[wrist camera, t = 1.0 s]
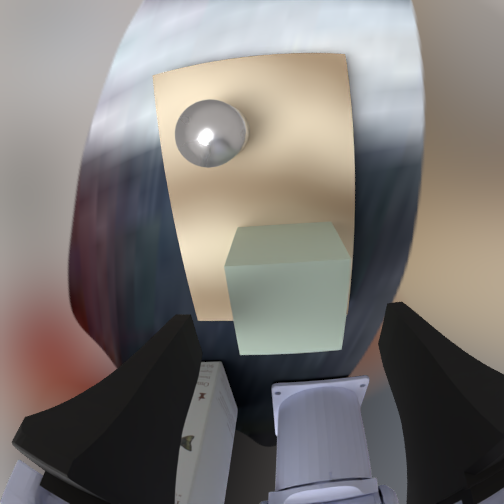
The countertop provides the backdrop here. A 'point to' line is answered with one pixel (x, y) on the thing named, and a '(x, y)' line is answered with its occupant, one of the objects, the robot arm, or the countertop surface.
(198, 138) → the silver knob
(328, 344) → the pale green block
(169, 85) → the board
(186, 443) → the supplement box
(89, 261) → the countertop surface
